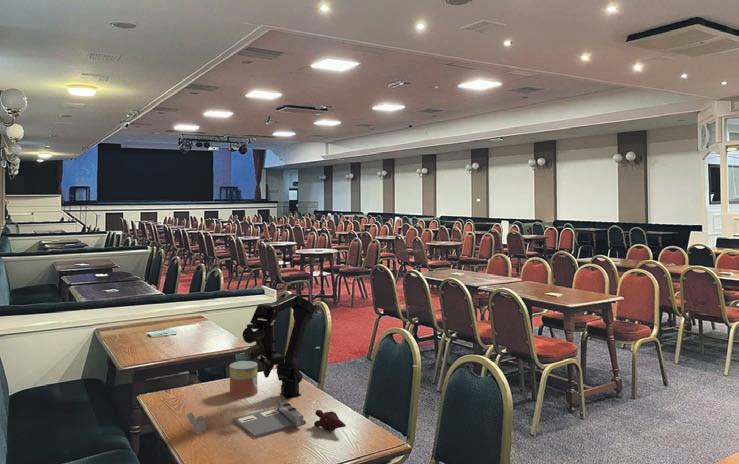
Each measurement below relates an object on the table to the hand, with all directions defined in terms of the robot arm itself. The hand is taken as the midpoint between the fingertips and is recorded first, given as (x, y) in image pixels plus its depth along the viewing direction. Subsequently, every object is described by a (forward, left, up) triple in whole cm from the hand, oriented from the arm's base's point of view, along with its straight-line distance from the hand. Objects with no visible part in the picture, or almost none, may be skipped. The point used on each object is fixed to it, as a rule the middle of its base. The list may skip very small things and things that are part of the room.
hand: (266, 377), depth 214 cm
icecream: (-8, +32, -12) cm, 35 cm away
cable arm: (-1, +16, -10) cm, 19 cm away
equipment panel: (+6, +13, -12) cm, 19 cm away
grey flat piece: (+30, +6, -12) cm, 33 cm away
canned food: (0, -20, -12) cm, 23 cm away
